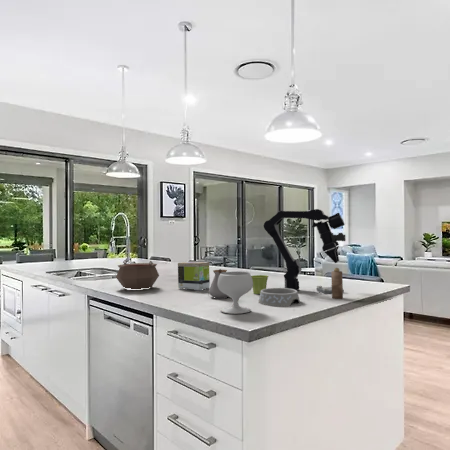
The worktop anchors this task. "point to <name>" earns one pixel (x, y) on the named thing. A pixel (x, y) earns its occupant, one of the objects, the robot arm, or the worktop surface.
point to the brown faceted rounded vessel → (137, 275)
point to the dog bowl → (278, 296)
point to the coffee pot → (214, 288)
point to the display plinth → (325, 289)
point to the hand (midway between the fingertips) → (337, 262)
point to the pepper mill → (337, 284)
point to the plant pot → (259, 283)
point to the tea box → (193, 275)
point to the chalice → (235, 289)
